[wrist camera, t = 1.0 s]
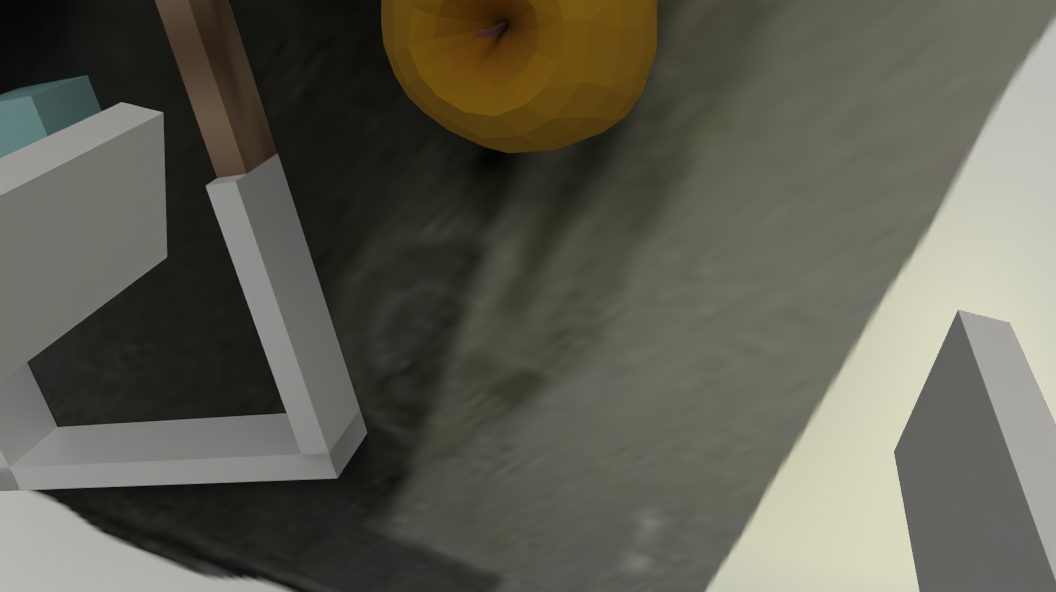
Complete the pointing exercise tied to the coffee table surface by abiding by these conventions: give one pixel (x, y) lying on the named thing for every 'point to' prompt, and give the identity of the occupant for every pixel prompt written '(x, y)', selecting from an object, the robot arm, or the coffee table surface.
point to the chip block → (43, 111)
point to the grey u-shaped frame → (224, 442)
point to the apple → (522, 65)
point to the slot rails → (219, 83)
